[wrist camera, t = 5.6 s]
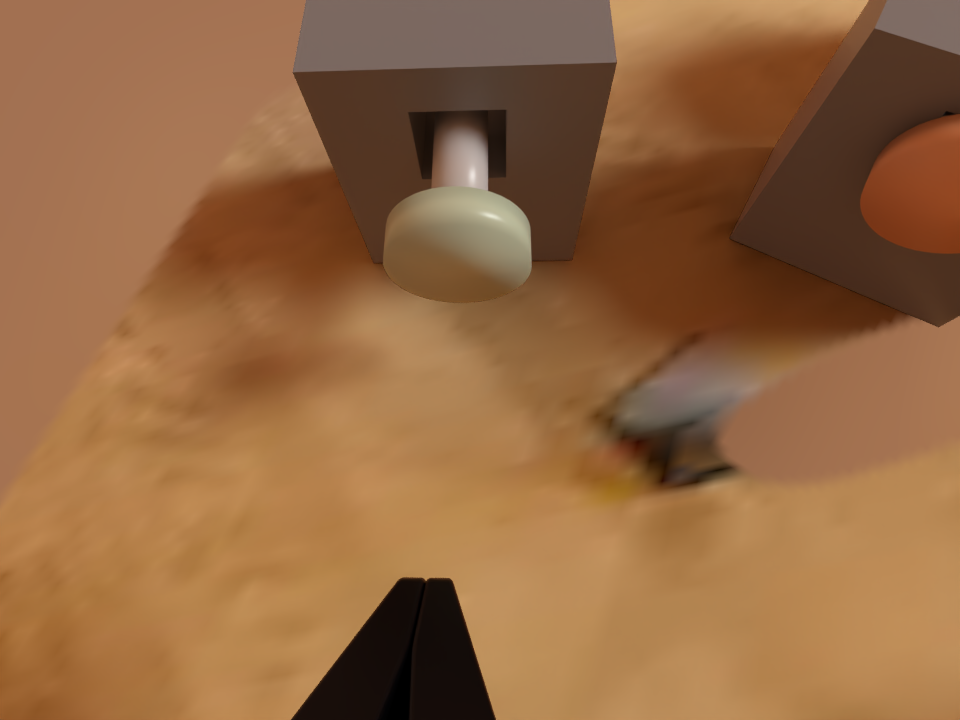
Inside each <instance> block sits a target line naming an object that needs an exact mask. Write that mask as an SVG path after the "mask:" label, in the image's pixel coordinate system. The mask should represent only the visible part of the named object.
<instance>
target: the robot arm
mask: <svg viewBox="0 0 960 720" xmlns="http://www.w3.org/2000/svg"><path fill="white" fill-rule="evenodd" d="M291 720H496V718H495V715H494V712H493V709H492V705H491V702H490V699H489V696H488V693H487V689H486V686H485V683H484V680H483V677H482V673H481V670H480V667H479V664H478V661H477V657H476V654H475V651H474V648H473V645H472V641H471V638H470V635H469V632H468V629H467V625H466V622H465V619H464V616H463V612H462V609H461V606H460V603H459V600H458V596H457V593H456V590H455V587H454V584H453V581H452V580H451V579H450V578H429V579H427V581H425V579H423V578H407V577H404V578H401V579H399V580H398V581H397V582H396V584H395V585H394V586H393V588H392V589H391V590H390V592H389V593H388V594H387V595H386V597H385V598H384V599H383V601H382V602H381V603H380V605H379V606H378V607H377V608H376V610H375V611H374V612H373V614H372V615H371V616H370V618H369V619H368V620H367V621H366V623H365V624H364V625H363V627H362V628H361V629H360V631H359V632H358V633H357V634H356V636H355V637H354V638H353V640H352V641H351V642H350V644H349V645H348V646H347V647H346V649H345V650H344V651H343V653H342V654H341V655H340V657H339V658H338V659H337V660H336V662H335V663H334V664H333V666H332V667H331V668H330V670H329V671H328V672H327V674H326V675H325V676H324V677H323V679H322V680H321V681H320V683H319V684H318V685H317V687H316V688H315V689H314V690H313V692H312V693H311V694H310V696H309V697H308V698H307V700H306V701H305V702H304V703H303V705H302V706H301V707H300V709H299V710H298V711H297V713H296V714H295V715H294V716H293V718H292V719H291Z"/></svg>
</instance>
